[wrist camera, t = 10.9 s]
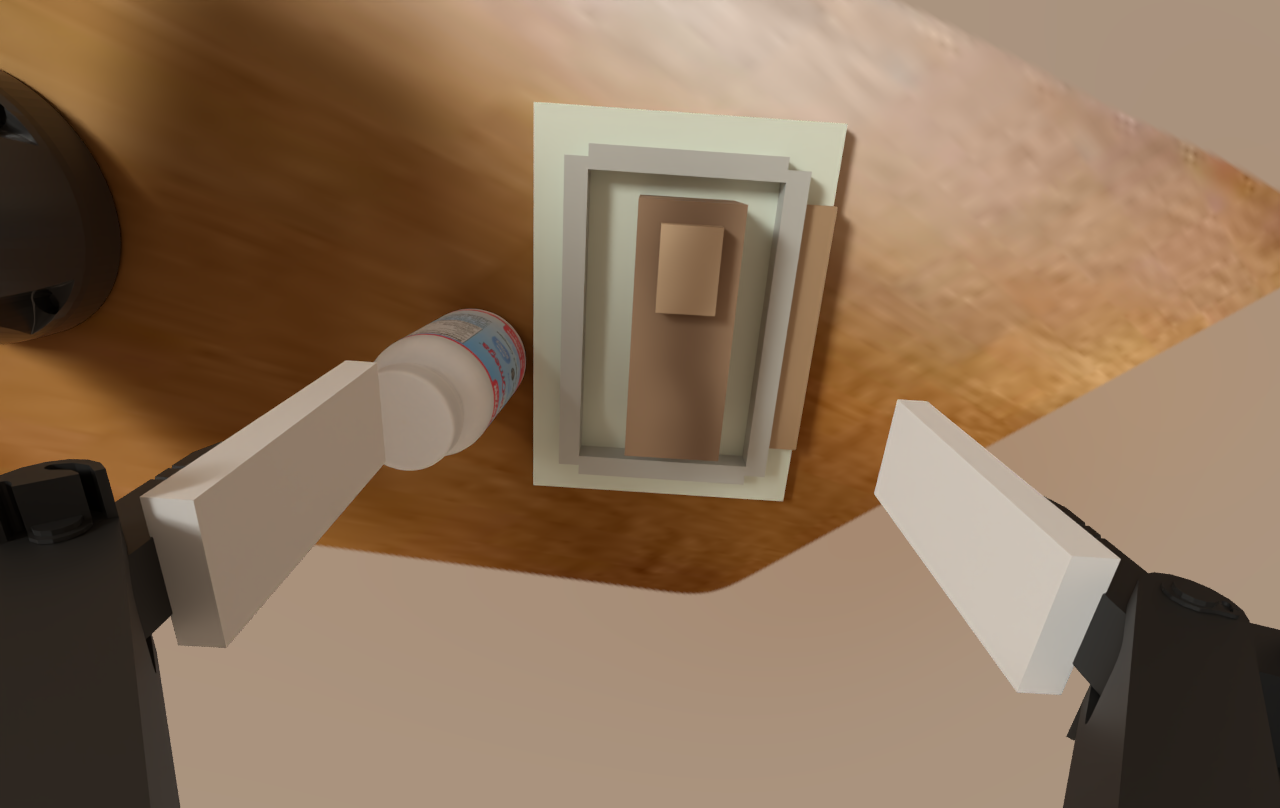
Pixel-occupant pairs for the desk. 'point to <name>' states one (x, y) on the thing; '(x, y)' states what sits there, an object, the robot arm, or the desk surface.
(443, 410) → the pill bottle
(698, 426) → the brown block
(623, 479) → the tray
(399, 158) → the desk surface
